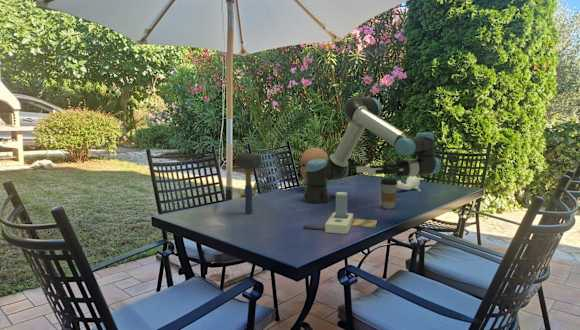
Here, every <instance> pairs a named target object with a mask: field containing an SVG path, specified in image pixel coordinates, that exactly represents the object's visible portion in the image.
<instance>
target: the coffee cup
mask: <svg viewBox="0 0 580 330" xmlns="http://www.w3.org/2000/svg"><path fill="white" fill-rule="evenodd" d="M380 185H381V186H380V187H381V188H380V189H381V190H380V191H381V206H382V208H383V209H387V210H389V209H390V210H391V209H395V205H396V199H397V198H396V197H397V189H398V188H397V179H396V178H389V177H384V178H382V179H381V181H380Z"/></svg>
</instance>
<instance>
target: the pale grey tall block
mask: <svg viewBox="0 0 580 330" xmlns="http://www.w3.org/2000/svg"><path fill="white" fill-rule="evenodd" d="M335 212H336V216H335V218H347V213H348V192H345V191H337V192H336V193H335Z"/></svg>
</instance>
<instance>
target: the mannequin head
mask: <svg viewBox="0 0 580 330" xmlns="http://www.w3.org/2000/svg"><path fill="white" fill-rule="evenodd" d="M314 159H326V160H327V161H328V159H329V157H328V154H327V153H326V151H324V149H322V148H320V147H310V148H307V149H305V150H304V152H302V154H301V157H300V160H299V161H300V173H301V177H302V178H303V182H304V183H305V184H306V166H307V162H308V161H310V160H314Z"/></svg>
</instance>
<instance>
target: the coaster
mask: <svg viewBox="0 0 580 330" xmlns="http://www.w3.org/2000/svg"><path fill="white" fill-rule="evenodd" d="M377 223H378V220H377V219H376V220H375V219H361V218H353V222H352V225H351V227H362V228H373V229H376V226H377Z"/></svg>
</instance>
